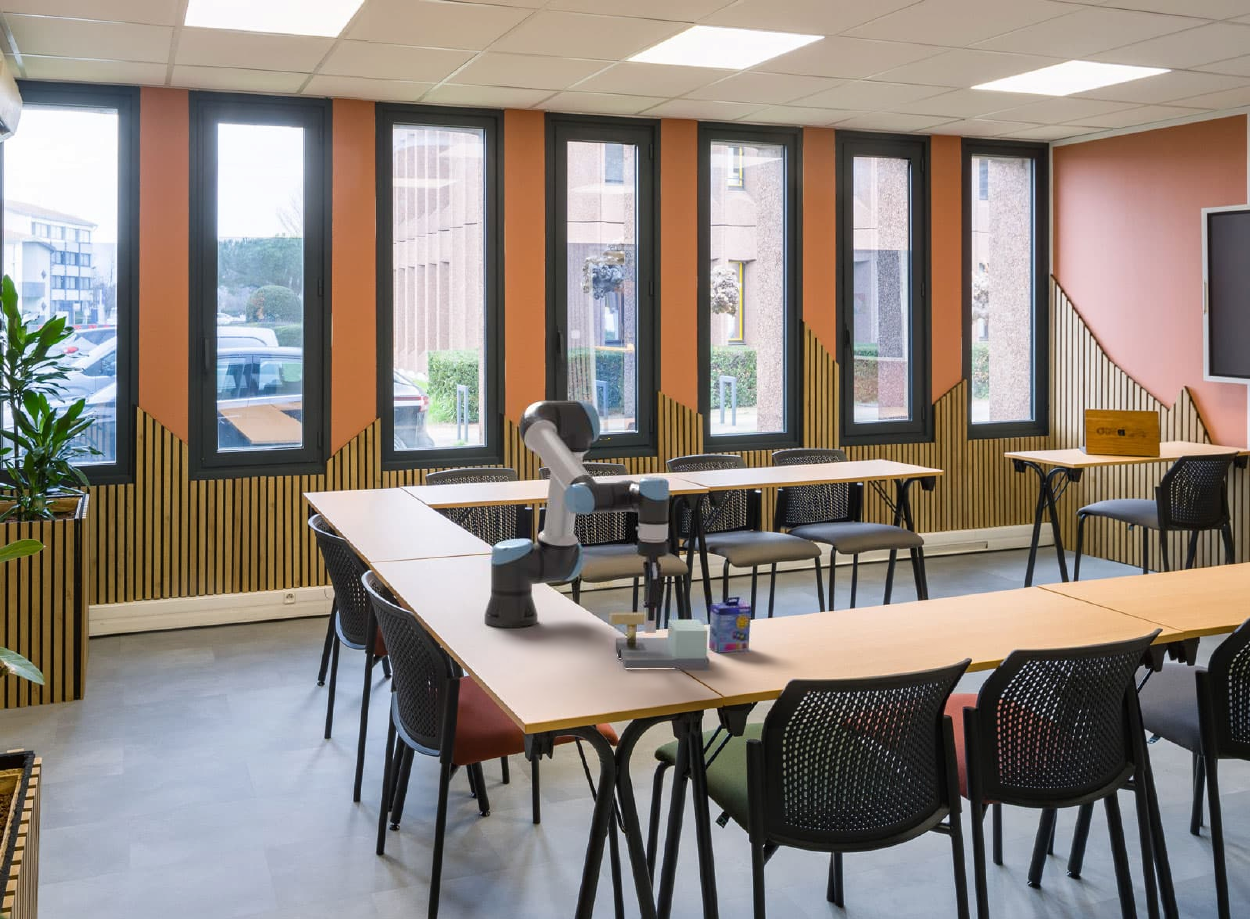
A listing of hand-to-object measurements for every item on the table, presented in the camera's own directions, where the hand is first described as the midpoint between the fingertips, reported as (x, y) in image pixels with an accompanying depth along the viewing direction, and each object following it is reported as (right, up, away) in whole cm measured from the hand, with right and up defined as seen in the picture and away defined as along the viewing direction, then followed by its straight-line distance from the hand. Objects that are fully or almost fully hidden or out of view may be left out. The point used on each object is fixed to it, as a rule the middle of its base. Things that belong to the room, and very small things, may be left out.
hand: (649, 632), depth 294 cm
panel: (+3, -7, +5) cm, 9 cm away
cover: (+9, -5, +2) cm, 11 cm away
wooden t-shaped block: (-5, -5, +6) cm, 9 cm away
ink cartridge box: (+21, -7, +15) cm, 27 cm away
